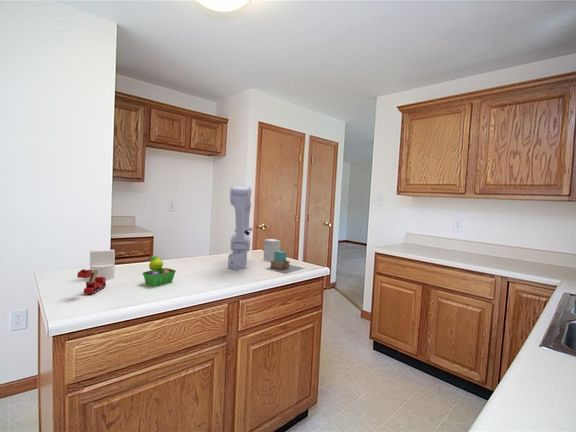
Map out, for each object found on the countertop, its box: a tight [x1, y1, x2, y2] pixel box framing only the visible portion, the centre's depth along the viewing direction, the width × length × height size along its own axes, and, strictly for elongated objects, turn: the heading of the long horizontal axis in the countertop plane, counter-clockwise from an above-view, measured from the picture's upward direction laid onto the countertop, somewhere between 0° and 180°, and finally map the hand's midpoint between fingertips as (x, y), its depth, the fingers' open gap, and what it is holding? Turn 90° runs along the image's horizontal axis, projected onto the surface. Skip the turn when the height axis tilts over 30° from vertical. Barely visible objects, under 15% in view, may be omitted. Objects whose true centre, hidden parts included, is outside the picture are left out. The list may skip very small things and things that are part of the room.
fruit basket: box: [142, 255, 177, 288], centre depth 128 cm, size 11×9×11 cm
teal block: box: [274, 250, 287, 262], centre depth 162 cm, size 4×4×5 cm
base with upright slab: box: [89, 249, 116, 281], centre depth 131 cm, size 9×9×12 cm
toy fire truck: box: [76, 268, 107, 295], centre depth 113 cm, size 3×14×10 cm, turn 5°
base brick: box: [270, 259, 290, 271], centre depth 162 cm, size 7×7×4 cm
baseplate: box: [264, 264, 306, 275], centre depth 162 cm, size 18×14×1 cm
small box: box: [263, 238, 281, 263], centre depth 181 cm, size 8×6×13 cm
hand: (243, 244), depth 175 cm, fingers closed
